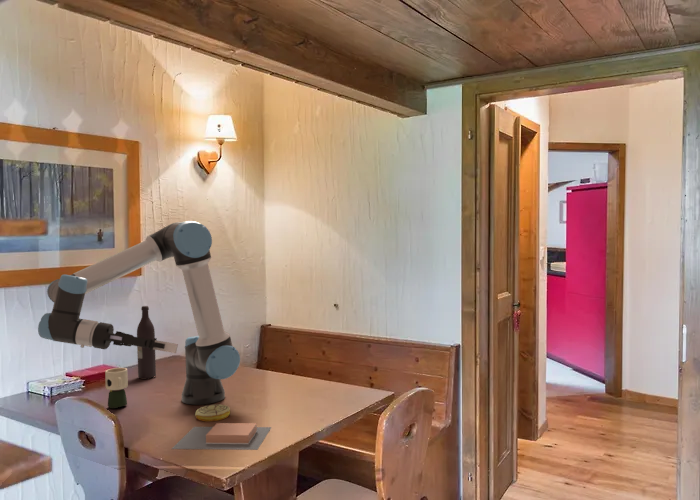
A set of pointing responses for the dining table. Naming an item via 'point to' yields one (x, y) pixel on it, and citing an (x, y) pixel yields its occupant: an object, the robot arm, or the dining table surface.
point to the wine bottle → (144, 355)
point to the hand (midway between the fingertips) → (176, 348)
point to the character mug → (116, 386)
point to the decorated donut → (212, 412)
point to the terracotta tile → (231, 433)
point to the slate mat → (198, 441)
